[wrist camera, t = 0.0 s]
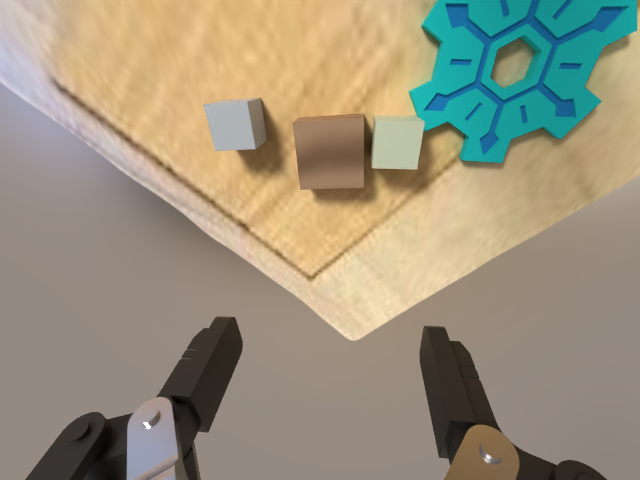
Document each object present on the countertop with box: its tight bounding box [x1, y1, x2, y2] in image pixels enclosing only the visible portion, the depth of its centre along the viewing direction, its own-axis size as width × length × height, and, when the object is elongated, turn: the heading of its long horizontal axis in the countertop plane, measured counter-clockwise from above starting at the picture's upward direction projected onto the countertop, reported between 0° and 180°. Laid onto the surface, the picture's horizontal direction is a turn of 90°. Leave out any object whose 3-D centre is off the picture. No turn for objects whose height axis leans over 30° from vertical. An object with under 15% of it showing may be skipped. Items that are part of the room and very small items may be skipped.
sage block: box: [371, 115, 425, 169], centre depth 33 cm, size 5×5×5 cm
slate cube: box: [204, 98, 267, 151], centre depth 34 cm, size 5×5×5 cm
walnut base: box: [293, 114, 364, 190], centre depth 35 cm, size 8×8×4 cm
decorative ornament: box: [409, 0, 637, 163], centre depth 30 cm, size 20×2×20 cm
